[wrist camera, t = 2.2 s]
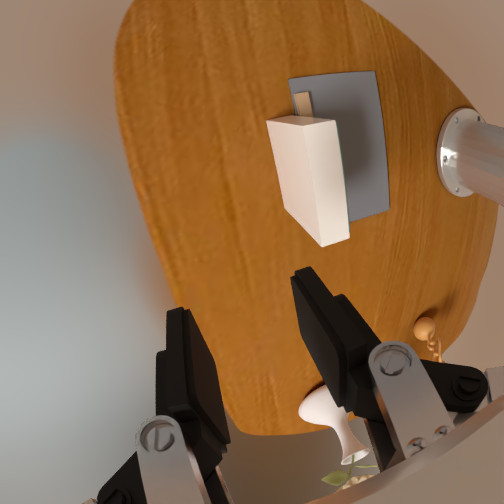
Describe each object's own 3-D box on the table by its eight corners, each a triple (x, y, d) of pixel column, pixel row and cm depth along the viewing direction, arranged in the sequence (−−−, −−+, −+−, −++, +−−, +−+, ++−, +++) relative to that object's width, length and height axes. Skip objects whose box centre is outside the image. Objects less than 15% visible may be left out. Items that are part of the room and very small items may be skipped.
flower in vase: (364, 370, 47) (433, 483, 25) (339, 408, 51) (391, 509, 30) (298, 378, 43) (360, 519, 21) (279, 417, 48) (323, 537, 26)
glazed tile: (292, 114, 26) (338, 119, 18) (308, 201, 30) (352, 237, 22) (265, 120, 25) (302, 126, 18) (284, 208, 30) (321, 247, 22)
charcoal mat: (372, 71, 25) (377, 70, 24) (387, 208, 32) (392, 211, 32) (287, 79, 24) (291, 78, 23) (315, 230, 32) (319, 234, 31)
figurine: (425, 330, 46) (463, 373, 36) (399, 347, 46) (435, 394, 36) (427, 299, 42) (472, 344, 32) (399, 317, 42) (443, 367, 32)
